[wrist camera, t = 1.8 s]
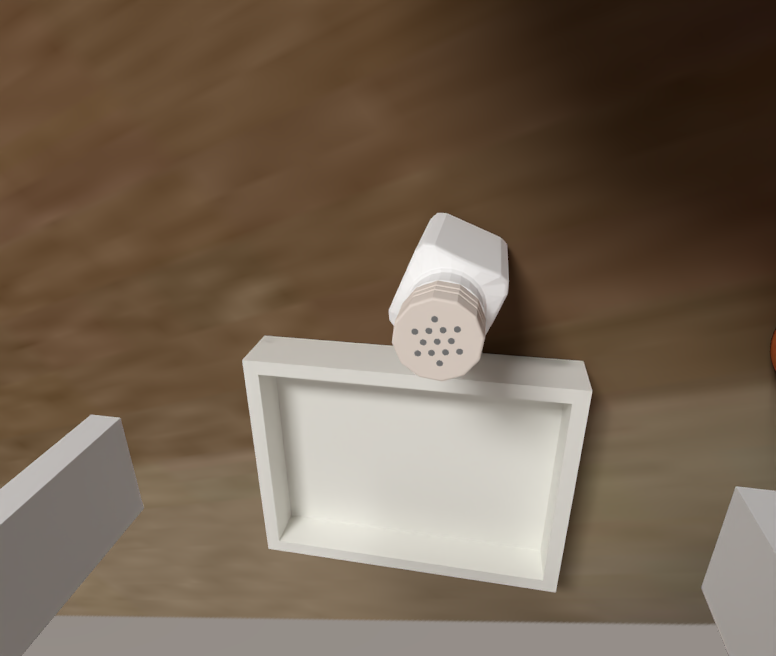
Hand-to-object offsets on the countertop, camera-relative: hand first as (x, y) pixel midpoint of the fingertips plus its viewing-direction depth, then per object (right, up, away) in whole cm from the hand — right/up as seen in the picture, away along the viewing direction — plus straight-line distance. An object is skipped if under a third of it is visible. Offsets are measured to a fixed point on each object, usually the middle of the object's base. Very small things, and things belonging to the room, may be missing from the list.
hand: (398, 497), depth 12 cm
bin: (+1, -4, +20) cm, 21 cm away
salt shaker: (+3, +7, +15) cm, 17 cm away
